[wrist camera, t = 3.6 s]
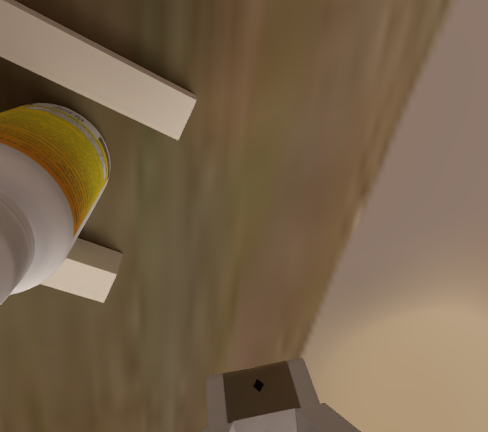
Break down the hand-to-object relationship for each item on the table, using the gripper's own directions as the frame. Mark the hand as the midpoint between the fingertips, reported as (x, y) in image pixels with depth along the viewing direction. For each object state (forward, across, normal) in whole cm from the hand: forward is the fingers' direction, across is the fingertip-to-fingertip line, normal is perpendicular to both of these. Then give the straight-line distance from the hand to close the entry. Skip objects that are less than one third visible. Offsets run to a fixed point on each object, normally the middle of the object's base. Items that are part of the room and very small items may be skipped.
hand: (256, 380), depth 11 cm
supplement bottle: (+12, +8, -5) cm, 15 cm away
